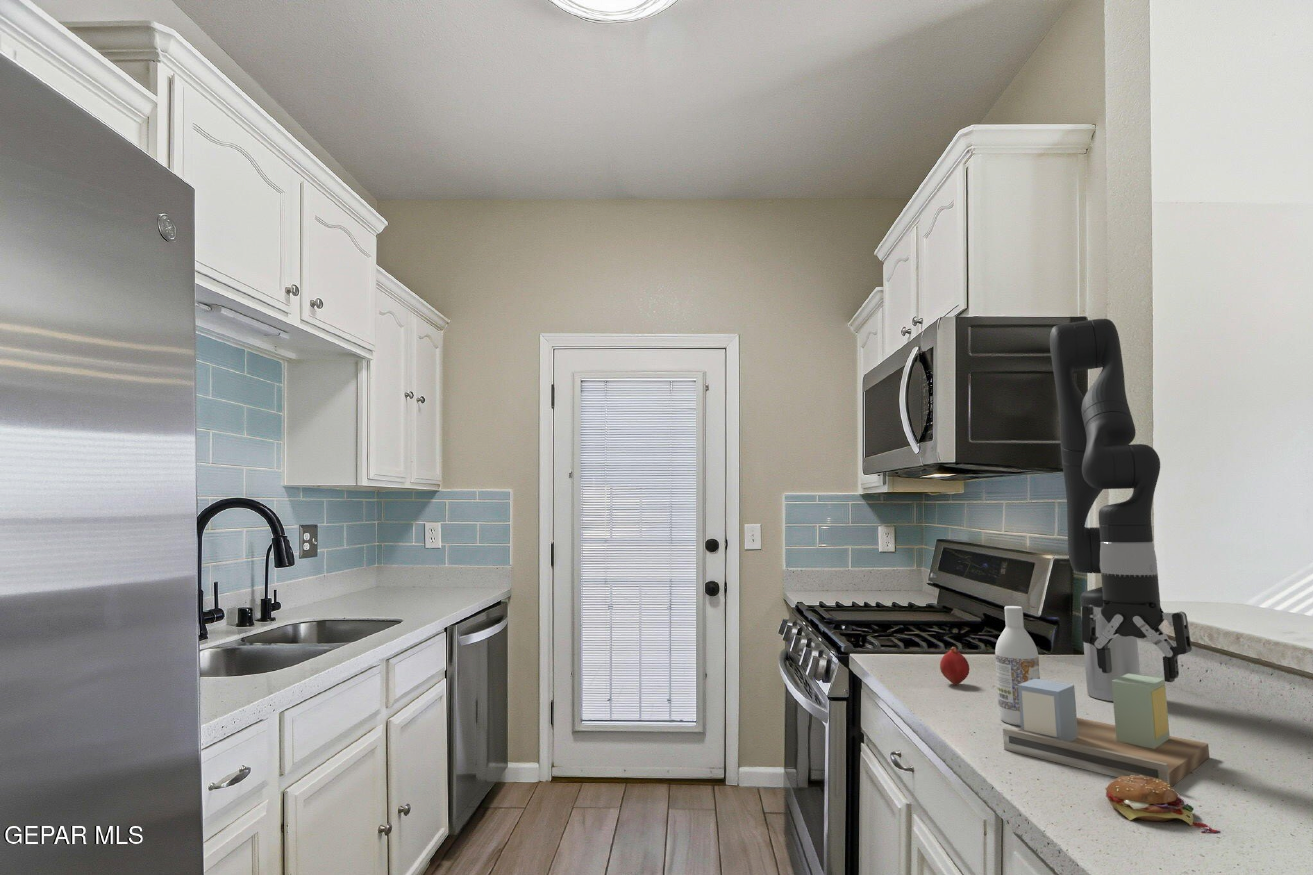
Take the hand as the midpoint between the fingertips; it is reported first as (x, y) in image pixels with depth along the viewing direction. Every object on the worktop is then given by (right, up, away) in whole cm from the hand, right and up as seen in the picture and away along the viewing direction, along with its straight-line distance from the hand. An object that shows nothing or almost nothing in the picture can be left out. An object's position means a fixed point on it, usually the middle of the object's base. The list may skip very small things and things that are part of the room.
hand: (1137, 676), depth 112 cm
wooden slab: (-5, -12, 0) cm, 13 cm away
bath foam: (-10, -14, +16) cm, 23 cm away
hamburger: (-12, -10, -23) cm, 28 cm away
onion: (-11, -16, +43) cm, 47 cm away
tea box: (0, -9, -1) cm, 10 cm away
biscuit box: (-13, -10, +1) cm, 16 cm away
